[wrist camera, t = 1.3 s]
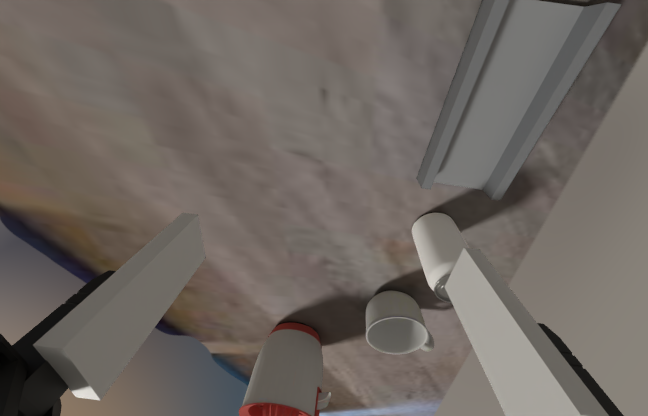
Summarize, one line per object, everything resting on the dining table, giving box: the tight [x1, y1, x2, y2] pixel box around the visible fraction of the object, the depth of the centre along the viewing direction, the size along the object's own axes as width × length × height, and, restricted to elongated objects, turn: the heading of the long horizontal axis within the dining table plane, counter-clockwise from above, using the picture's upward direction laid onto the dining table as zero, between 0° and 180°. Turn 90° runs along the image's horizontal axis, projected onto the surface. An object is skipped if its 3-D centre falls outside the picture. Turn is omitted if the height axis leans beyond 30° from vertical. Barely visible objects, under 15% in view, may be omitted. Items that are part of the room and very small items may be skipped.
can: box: [412, 213, 469, 303], centre depth 34 cm, size 6×6×12 cm
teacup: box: [366, 291, 434, 354], centre depth 47 cm, size 14×11×8 cm
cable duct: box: [417, 0, 621, 200], centre depth 28 cm, size 20×10×3 cm, turn 173°
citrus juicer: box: [239, 323, 331, 416], centre depth 52 cm, size 16×17×20 cm
